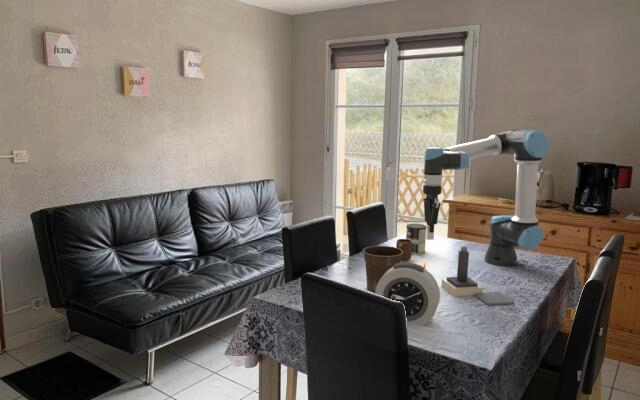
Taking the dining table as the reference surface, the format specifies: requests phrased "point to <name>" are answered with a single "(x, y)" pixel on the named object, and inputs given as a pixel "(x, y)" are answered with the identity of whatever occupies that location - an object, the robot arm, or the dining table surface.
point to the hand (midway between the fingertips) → (429, 239)
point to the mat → (493, 298)
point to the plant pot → (379, 263)
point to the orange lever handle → (423, 264)
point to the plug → (462, 271)
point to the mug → (405, 248)
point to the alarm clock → (411, 291)
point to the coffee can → (417, 237)
